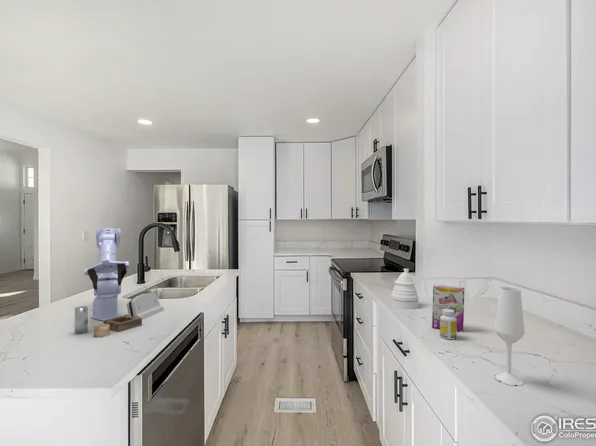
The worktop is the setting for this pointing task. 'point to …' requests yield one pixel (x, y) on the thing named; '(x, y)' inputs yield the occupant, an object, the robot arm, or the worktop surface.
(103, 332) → the oak stub
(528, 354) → the worktop surface
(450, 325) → the supplement bottle
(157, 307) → the hinge
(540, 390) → the worktop surface
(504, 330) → the champagne flute
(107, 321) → the socket block
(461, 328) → the candy bar box
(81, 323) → the tall pin
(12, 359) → the worktop surface
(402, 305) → the honey pot
